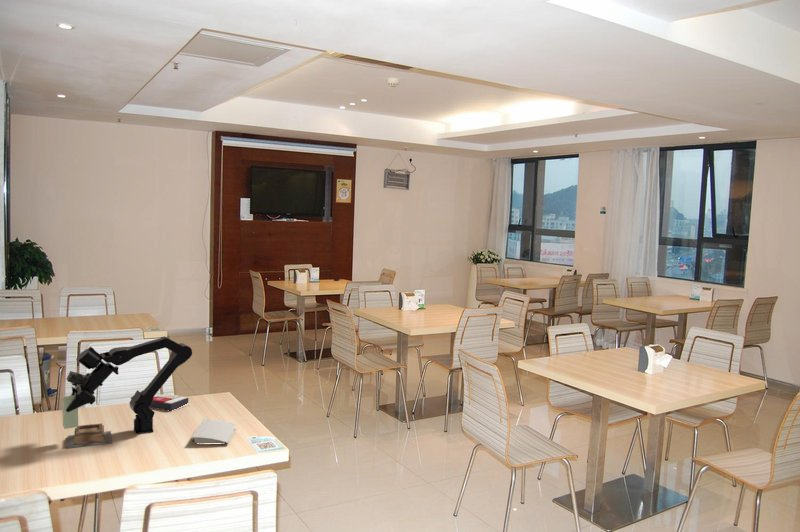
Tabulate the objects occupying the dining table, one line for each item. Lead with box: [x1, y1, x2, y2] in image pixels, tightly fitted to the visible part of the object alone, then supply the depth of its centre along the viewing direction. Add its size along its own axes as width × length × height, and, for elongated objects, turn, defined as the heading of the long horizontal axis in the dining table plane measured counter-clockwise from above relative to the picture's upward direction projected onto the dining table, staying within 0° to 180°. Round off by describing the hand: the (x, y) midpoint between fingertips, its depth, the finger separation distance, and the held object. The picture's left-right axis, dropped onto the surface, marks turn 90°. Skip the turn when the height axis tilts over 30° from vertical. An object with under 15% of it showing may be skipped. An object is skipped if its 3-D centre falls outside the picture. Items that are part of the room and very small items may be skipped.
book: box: [191, 418, 236, 444], centre depth 241 cm, size 15×23×4 cm, turn 6°
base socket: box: [65, 422, 113, 449], centre depth 231 cm, size 15×12×5 cm
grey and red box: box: [150, 393, 189, 412], centre depth 276 cm, size 11×4×15 cm
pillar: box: [61, 394, 79, 430], centre depth 227 cm, size 5×5×11 cm
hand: (65, 409), depth 227 cm, fingers closed on pillar, 5 cm apart
